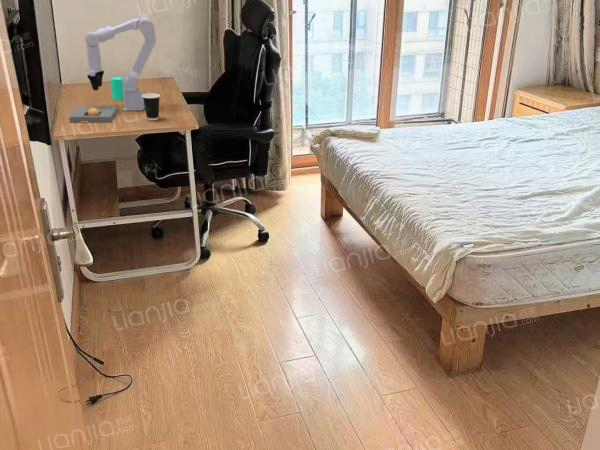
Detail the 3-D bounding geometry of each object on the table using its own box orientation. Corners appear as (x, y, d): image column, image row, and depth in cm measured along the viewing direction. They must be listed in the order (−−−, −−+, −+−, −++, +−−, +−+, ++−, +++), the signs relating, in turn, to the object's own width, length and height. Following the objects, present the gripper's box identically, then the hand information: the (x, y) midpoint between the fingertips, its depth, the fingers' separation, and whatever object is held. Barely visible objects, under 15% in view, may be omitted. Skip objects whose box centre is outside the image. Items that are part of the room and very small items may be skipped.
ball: (98, 114, 275) (98, 121, 279) (99, 106, 278) (99, 113, 282) (87, 113, 274) (87, 120, 278) (88, 105, 277) (88, 112, 281)
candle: (112, 100, 311) (110, 76, 305) (112, 97, 316) (110, 74, 311) (124, 99, 312) (122, 76, 307) (124, 97, 317) (122, 74, 312)
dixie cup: (142, 120, 278) (140, 97, 274) (146, 116, 286) (144, 93, 281) (159, 121, 278) (157, 97, 274) (163, 116, 286) (161, 93, 281)
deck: (117, 111, 291) (117, 106, 290) (110, 122, 275) (110, 117, 274) (79, 111, 289) (78, 106, 288) (70, 122, 273) (69, 116, 272)
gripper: (88, 56, 289) (92, 84, 295) (82, 62, 276) (85, 91, 282) (104, 56, 290) (106, 84, 296) (97, 62, 277) (101, 91, 283)
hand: (97, 88), depth 289 cm, fingers open, 7 cm apart
